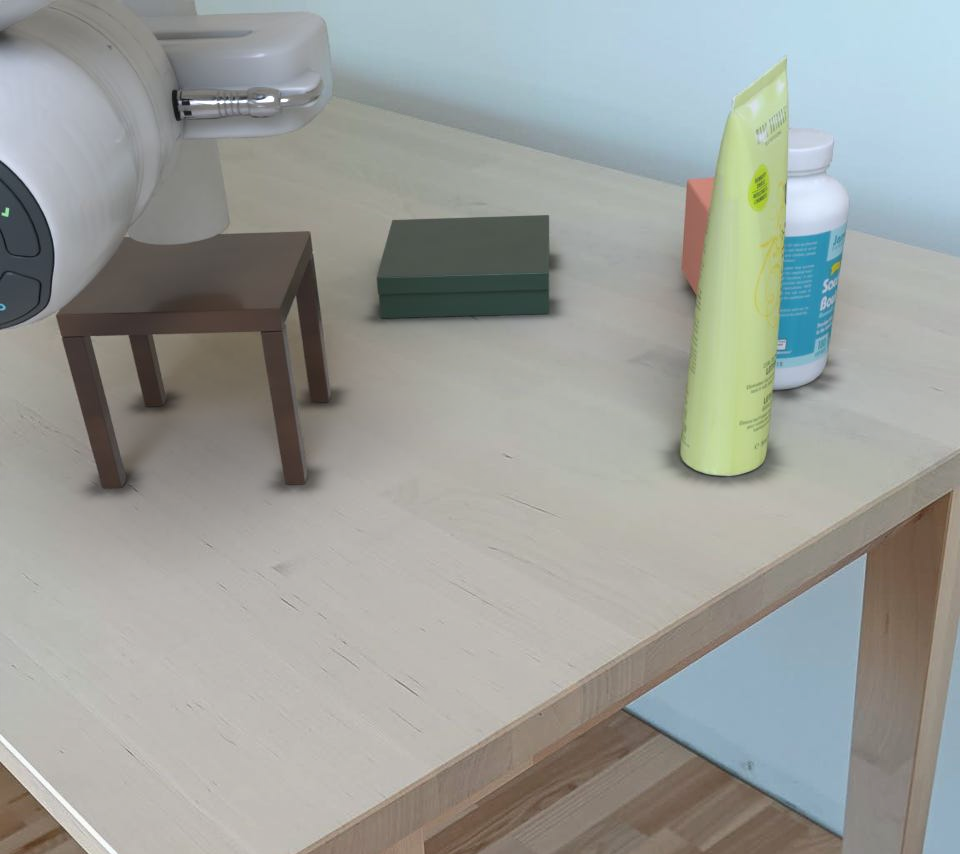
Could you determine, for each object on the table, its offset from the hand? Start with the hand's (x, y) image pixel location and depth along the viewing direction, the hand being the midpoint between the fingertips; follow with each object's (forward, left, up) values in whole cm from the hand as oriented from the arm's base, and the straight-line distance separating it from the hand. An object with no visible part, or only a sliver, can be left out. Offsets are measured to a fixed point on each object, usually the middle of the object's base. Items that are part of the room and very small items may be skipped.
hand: (147, 36), depth 64 cm
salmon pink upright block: (+34, +19, -21) cm, 44 cm away
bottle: (0, -1, -9) cm, 9 cm away
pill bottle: (+34, +7, -21) cm, 41 cm away
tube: (+30, -5, -21) cm, 37 cm away
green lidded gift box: (+14, +23, -21) cm, 34 cm away
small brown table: (0, -1, -21) cm, 21 cm away
